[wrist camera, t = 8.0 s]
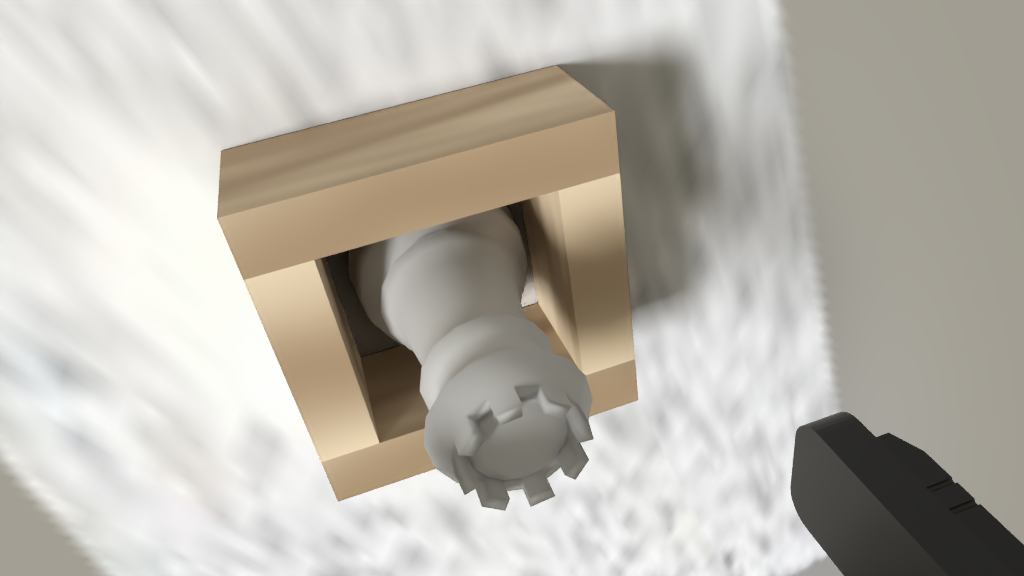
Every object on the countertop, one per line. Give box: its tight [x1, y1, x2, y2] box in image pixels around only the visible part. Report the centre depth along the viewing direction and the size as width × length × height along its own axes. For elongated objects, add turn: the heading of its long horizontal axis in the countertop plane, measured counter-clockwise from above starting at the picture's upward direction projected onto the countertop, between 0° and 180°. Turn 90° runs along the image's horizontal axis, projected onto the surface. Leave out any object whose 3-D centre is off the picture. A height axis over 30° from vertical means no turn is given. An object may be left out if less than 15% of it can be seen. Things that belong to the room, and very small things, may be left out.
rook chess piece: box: [349, 206, 593, 510], centre depth 16 cm, size 4×4×8 cm
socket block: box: [217, 65, 638, 502], centre depth 18 cm, size 8×8×4 cm
